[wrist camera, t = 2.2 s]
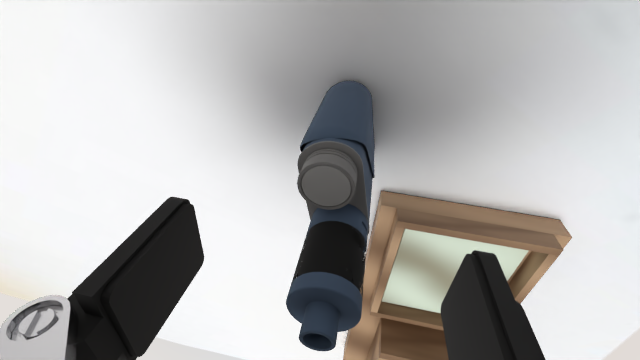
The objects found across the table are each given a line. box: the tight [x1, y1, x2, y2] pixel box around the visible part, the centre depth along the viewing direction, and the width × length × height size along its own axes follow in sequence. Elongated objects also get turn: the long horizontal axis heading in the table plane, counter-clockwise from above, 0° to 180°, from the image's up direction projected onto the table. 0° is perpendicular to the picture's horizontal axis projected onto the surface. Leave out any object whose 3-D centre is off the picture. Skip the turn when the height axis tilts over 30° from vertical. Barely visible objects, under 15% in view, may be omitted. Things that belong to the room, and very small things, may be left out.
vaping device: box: [286, 81, 375, 351], centre depth 12 cm, size 3×5×12 cm, turn 10°
